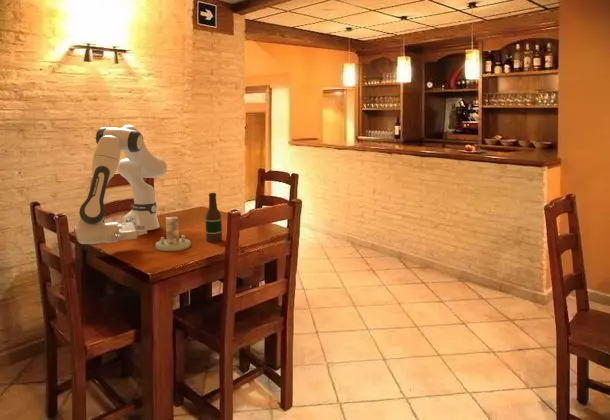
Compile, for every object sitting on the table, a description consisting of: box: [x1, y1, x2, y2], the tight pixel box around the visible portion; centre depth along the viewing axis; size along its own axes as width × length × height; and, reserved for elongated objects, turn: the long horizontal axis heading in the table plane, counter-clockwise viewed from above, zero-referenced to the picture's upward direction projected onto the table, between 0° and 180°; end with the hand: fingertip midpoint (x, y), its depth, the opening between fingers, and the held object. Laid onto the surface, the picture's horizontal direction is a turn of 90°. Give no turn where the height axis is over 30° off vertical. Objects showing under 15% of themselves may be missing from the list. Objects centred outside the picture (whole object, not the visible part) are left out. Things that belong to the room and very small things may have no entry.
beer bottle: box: [204, 192, 223, 243], centre depth 243 cm, size 8×8×24 cm
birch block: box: [165, 216, 180, 244], centre depth 232 cm, size 5×5×12 cm
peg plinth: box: [155, 234, 191, 252], centre depth 233 cm, size 16×16×5 cm
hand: (145, 229), depth 227 cm, fingers open, 8 cm apart
